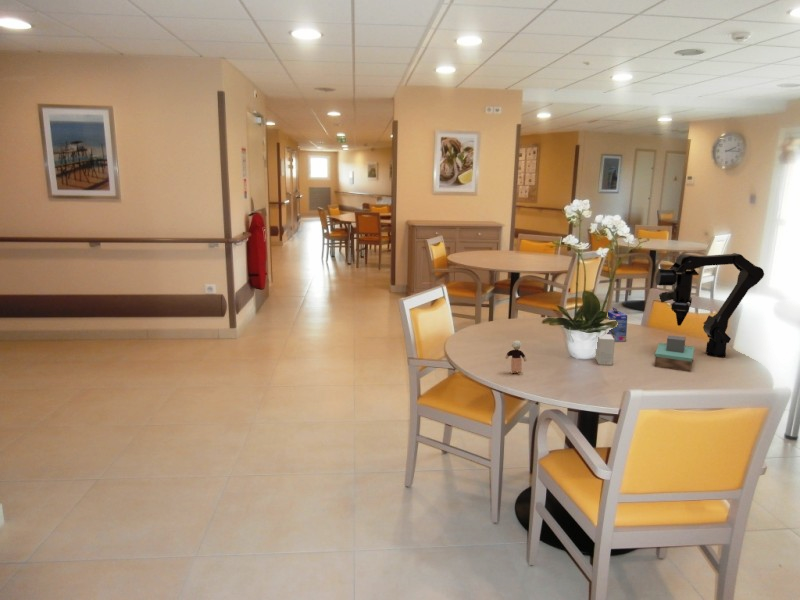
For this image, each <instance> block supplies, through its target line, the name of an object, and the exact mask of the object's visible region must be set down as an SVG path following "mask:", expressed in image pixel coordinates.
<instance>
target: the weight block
mask: <svg viewBox="0 0 800 600" xmlns="http://www.w3.org/2000/svg"><path fill="white" fill-rule="evenodd" d="M686 339H687V338H686V336H676V335H670V334H669V335H668V336H667V338H666V344H667V347H666V351H672V352H680V353H684V348H685V346H686Z"/></svg>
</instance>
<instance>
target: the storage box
mask: <svg viewBox="0 0 800 600" xmlns="http://www.w3.org/2000/svg"><path fill="white" fill-rule="evenodd" d="M692 364H693V361H692V362H691V361H684V360H677V359H669V358H662V357H655V360H654V367H656V368H657V367H658V368H664V369H672V370H677V371H678V370H679V371H686V372H691V368H692Z"/></svg>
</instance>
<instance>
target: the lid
mask: <svg viewBox="0 0 800 600" xmlns="http://www.w3.org/2000/svg"><path fill="white" fill-rule="evenodd" d="M666 347H667V343H663V342H659V344H658V346H657V348H656V350H655V352H654V357H655V358H656V357H662V358H669V359H677V360H684V361H691V362H692V363H693V359H694V354H695V347H694V346H688V345H685V348H684V353H680V352H672V351H666Z"/></svg>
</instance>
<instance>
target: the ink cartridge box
mask: <svg viewBox="0 0 800 600" xmlns="http://www.w3.org/2000/svg"><path fill="white" fill-rule="evenodd" d="M612 309H613V310H607V311H608V317H609V320H616V321H617V322H618V325H617V327H615V328H613V329H611V330H609V332H608V333H607V334H611V335H612V337H613V338H614V339H615V342H627V333H628V332H627V331H628V329H627V328H628V314H627V313H624V312H621V311H619V310H618V309H617V308H615V307H612Z"/></svg>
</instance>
